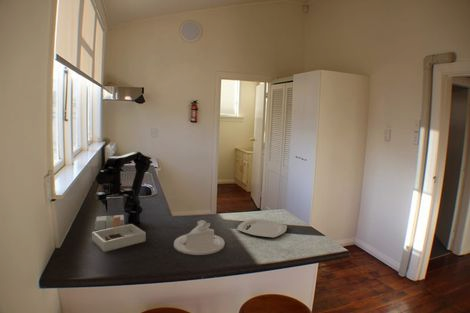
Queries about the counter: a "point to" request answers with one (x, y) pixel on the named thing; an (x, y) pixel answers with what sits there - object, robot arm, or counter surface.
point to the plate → (262, 228)
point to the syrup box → (107, 222)
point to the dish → (199, 241)
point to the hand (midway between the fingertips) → (115, 209)
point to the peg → (116, 221)
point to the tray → (130, 233)
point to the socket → (113, 236)
